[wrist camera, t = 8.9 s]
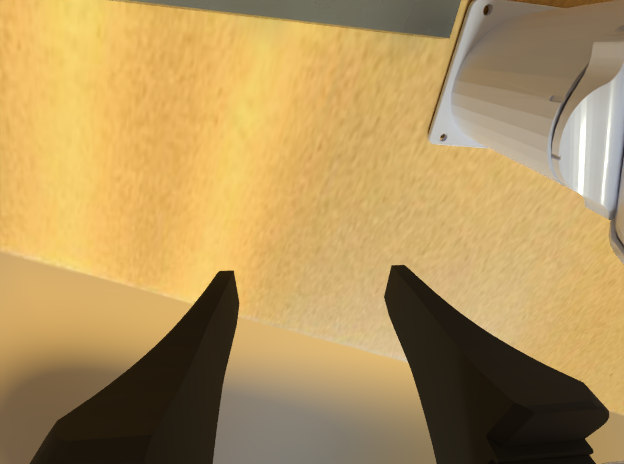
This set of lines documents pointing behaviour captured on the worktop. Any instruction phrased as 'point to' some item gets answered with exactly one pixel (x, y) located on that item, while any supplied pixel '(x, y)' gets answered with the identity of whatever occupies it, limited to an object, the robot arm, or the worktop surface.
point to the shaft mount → (338, 13)
